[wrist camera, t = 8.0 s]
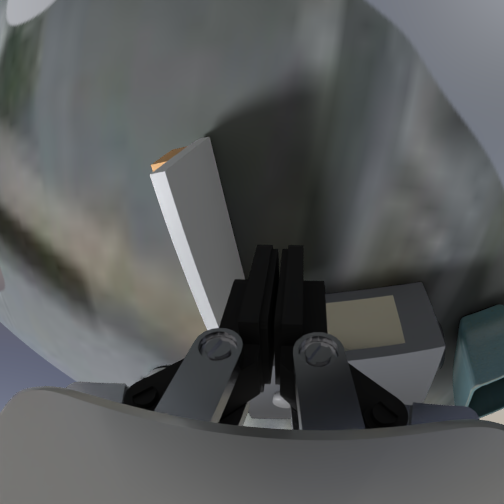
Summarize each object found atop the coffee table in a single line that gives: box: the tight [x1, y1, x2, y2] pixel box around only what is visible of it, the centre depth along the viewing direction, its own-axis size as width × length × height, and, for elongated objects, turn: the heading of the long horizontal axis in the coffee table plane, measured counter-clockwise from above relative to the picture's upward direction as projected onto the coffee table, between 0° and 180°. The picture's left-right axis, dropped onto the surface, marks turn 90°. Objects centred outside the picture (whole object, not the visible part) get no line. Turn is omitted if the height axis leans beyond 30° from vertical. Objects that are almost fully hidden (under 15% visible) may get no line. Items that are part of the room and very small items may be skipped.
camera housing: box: [248, 282, 445, 419], centre depth 23 cm, size 17×9×8 cm, turn 105°
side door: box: [150, 137, 245, 330], centre depth 19 cm, size 14×2×7 cm, turn 12°
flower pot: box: [453, 304, 504, 418], centre depth 20 cm, size 9×9×9 cm
